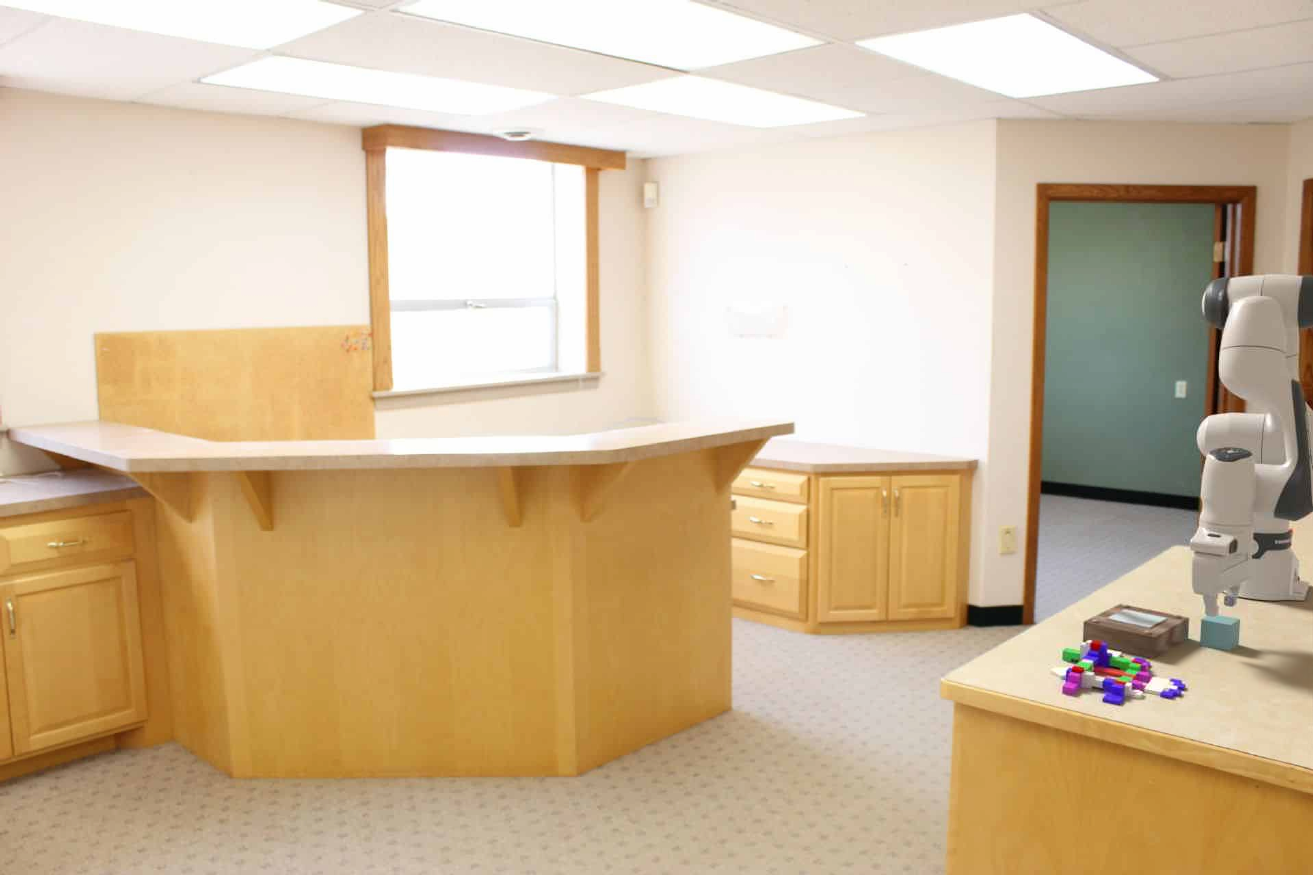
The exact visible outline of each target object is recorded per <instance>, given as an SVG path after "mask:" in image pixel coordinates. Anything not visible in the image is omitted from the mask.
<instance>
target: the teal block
mask: <svg viewBox="0 0 1313 875" xmlns="http://www.w3.org/2000/svg"><path fill="white" fill-rule="evenodd" d="M1240 626H1241V619H1240V618H1237V617H1236V618H1235V617H1232V616H1231V617H1230V616H1225V615H1221V614H1218V615H1217V616H1215V617H1211V616H1207V615H1205V616H1204V617H1203V618H1200V635H1199V636H1200V639H1199V646H1204V647H1206V648H1207V647H1208V648H1213V649H1216V650H1217V649H1218V650H1221V651H1226V652H1230V651H1232V650H1233V649H1235V648H1236V647H1238V646H1239V644H1240V643H1239V642H1240V630H1241V629H1240V628H1241V627H1240Z"/></svg>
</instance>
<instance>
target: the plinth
mask: <svg viewBox="0 0 1313 875" xmlns="http://www.w3.org/2000/svg"><path fill="white" fill-rule="evenodd" d="M1082 628H1083V630H1082V632H1083V633H1082V642H1087V641H1088V640H1092V641H1097V642H1103V643H1108V647H1107V649H1109V650H1114V651H1118V652H1122V653H1123V652H1124V653H1128V654H1131V655H1137V656H1141V657H1146V658H1150V659H1155V658H1157V657H1159V656H1161V655H1162V654H1164V653H1166V652H1167V651H1169V650H1170V649H1172V648H1174V647H1176V646H1177V645H1179V644H1181V643H1182V642H1184V641H1185V640H1187V639H1188V638H1189V630H1190V617H1188V616H1183V615H1180V614H1174V613H1173V614H1172V613H1169V612H1163V611H1157V610H1153V609H1148V608H1142V607H1138V606H1133V605H1132V606H1131V605H1129V604H1123V603H1119V604H1117V605H1115V606H1113V607H1111V608H1109V609H1106V610H1105V611H1102V612H1100V613H1098V614H1096V615H1094V616H1092V617H1090V618H1088V619H1086V620H1084V621H1083V626H1082ZM1168 649H1169V650H1168Z"/></svg>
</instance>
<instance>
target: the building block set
mask: <svg viewBox="0 0 1313 875" xmlns="http://www.w3.org/2000/svg"><path fill="white" fill-rule="evenodd" d="M1079 647H1080V648H1079V649H1076V648H1071V647H1070V648H1066V647H1065V648H1064V649H1062V656H1061V657H1062V658H1061V660H1062V661H1066V662H1072V661H1073V660H1077V661H1078V663H1076V665H1073V666H1072V667H1069V666H1066V667H1064V666H1063V667H1052V668H1051V670H1050V674H1051V675H1052V676H1054V677H1056V678H1058V679H1059V680H1064V679H1065V683H1064V684H1063V685H1062V690H1061V691H1062V692H1061V693H1062V694H1065V695H1070V696H1074V695H1075V694H1076V693H1077V692H1078V691H1079V690H1080V689H1081V688H1085V689H1093V687H1095V688H1100V689H1102V692H1106V693H1105V695H1104V696H1103V697H1102V698H1101V699H1102V700H1101V701H1102V703H1107V704H1111V705H1117V706H1120V705H1121V704H1122V703H1123V702H1124V701H1125V699H1126V697H1130V698H1133V699H1138V700H1139V699H1140V700H1141V699H1142V698H1143V696H1144V693H1147V694H1152V695H1156V696H1157V695H1158V696H1159V698H1163V699H1168V700H1172V699H1173V697H1177V698H1180V696H1182V692H1184V691H1185V689H1186V684H1185V683H1183V680H1182V679H1177V678H1170V679H1167V678H1162V677H1158V676H1157V677H1156V676H1152V675H1151V676H1150V672H1149V667H1150V665H1151V662H1150V661H1148V660H1147V661H1146V658H1141V657H1134V659H1129V658H1126V657H1121V656H1122V654H1123V651H1119V650H1114V649H1108V648H1107V647H1108V643H1103V642H1097V641H1092V640H1088V641H1087V642H1083V641H1082V642H1081V643H1080V646H1079ZM1111 667H1116V668H1119V669H1115V668H1111ZM1098 674H1100V675H1098ZM1103 675H1105V676H1103ZM1108 676H1109V677H1108ZM1110 676H1111V677H1110ZM1113 677H1115V678H1113ZM1143 682H1144V683H1148V684H1147V685H1145V684H1143Z"/></svg>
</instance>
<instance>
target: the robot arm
mask: <svg viewBox="0 0 1313 875" xmlns="http://www.w3.org/2000/svg"><path fill="white" fill-rule="evenodd" d="M1201 300H1202V301H1201V310H1202V314H1203V315H1204V320H1205V322H1206V323H1208V324H1209V326H1211V327H1212V328H1217V329H1219V330H1220V331H1223V332H1222V337H1221V342H1220V350H1219V357H1218V358H1219V359H1218V376H1219V380H1220V381H1221V382H1222V383H1221V384H1222V385H1223V386H1224V387H1225V388H1226V389H1227V390H1228V391H1229V392H1230V393H1232V394H1233V395H1235V396H1237V397H1238V398H1240V399H1242V400H1244V401H1246V402H1249V403H1251V404H1254V405H1258V406H1259V407H1263V408H1265V409H1266V410H1267V411H1268V413H1251V412H1250V413H1247V412H1246V413H1245V412H1226V413H1218V414H1217V413H1216V414H1211V415H1208V416H1207V417H1206V418H1205V419H1203V421H1202V422H1201V423H1200V425H1199V427H1198V428H1197V434H1196V443H1197V447H1198V449H1199V451H1200V452H1201V454H1202V455H1203V456H1204V457H1205V458H1206V459H1205V461H1204V462H1205V463H1204V465H1203V472H1202V473H1201V474H1200V477H1199V491H1198V498H1199V499H1200V500H1201V503H1202V507H1201V508H1202V509H1201V512H1200V515H1199V519H1198V520H1199V521H1198V527H1197V530H1196V533H1195V534H1194V536H1192V538H1191V539H1190V542H1189V550H1190V551H1191V552H1193V554H1192V556H1191V587H1192V590H1193V592H1194V593H1193V594H1196V595H1200V596H1202V599H1203V603H1204V607H1205V610H1204V614H1205V616H1211V617H1215V616H1217V615H1219V611H1220V610H1219V606H1218V599H1219V594H1221V593H1224V594H1225V595H1223V596H1224V597H1223V604H1224V605H1223V606H1225V607H1230V608H1233V607H1235V606H1236V605H1237V603H1238V598H1239V597H1240V598H1243V599H1244V598H1246V599H1250V600H1252V599H1253V600H1263V601H1305V600H1306V597H1307V594H1308V591H1309V589H1310V586H1311V585H1310V581H1309V580H1306V579H1304V578H1300V576H1299V572H1300V571H1299V569H1300V560H1299V559H1298V557H1297V555H1296V554H1295V553H1294V551H1293V550H1292V548H1291V547H1292V546H1293V545H1292V540H1293V535H1294V534H1293V533H1294V532H1293V531H1294V530H1293V528H1292V527H1290V521H1291V522H1297V521H1299V520H1302V519H1303V518H1306V517H1307V516H1309V515H1310V514H1312V513H1313V409H1312V408H1311V407H1310V405H1308V403H1307V401H1306V398H1305V397H1306V396H1305V393H1304V390H1303V387H1302V385H1301V382H1300V374H1299V372H1300V371H1299V369H1300V368H1299V363H1300V362H1299V360H1300V331H1306V330H1308V329H1312V328H1313V275H1312V274H1303V275H1296V274H1283V273H1282V274H1281V273H1280V274H1279V273H1266V274H1259V275H1258V274H1257V275H1246V276H1245V275H1244V276H1236V277H1232V276H1226V277H1225V276H1223V277H1220V278H1216V279H1212V281H1211V282H1210V283H1209V284H1208V285H1207V286H1206V290H1205V292H1204V293H1203V296H1202V299H1201ZM1299 330H1300V331H1299Z"/></svg>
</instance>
